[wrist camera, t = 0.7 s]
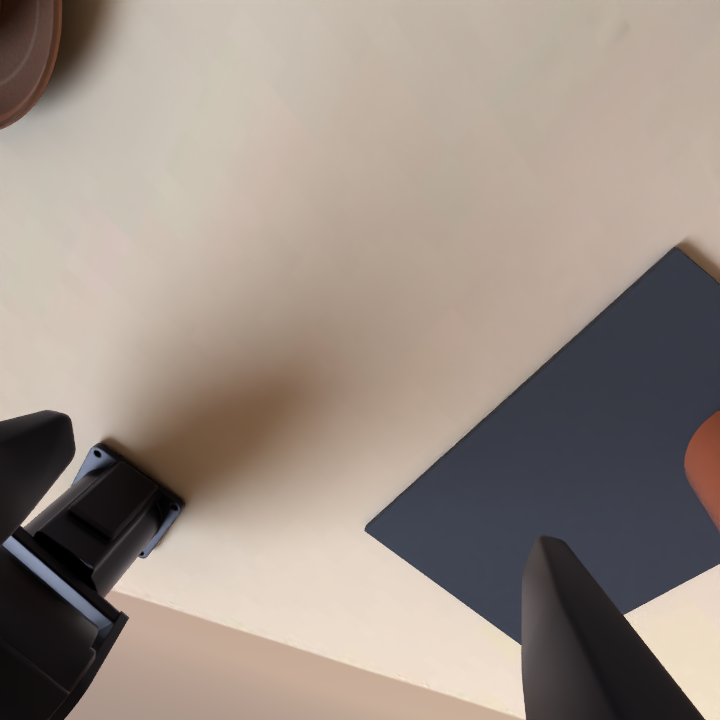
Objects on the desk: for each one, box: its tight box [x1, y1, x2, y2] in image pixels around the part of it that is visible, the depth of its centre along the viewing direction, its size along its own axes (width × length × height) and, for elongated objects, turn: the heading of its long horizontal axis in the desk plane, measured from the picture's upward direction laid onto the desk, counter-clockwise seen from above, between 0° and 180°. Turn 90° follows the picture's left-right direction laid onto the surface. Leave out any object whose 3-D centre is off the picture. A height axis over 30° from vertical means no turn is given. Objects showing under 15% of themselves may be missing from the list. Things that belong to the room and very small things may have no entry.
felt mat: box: [365, 247, 720, 645], centre depth 23 cm, size 20×13×1 cm, turn 144°
